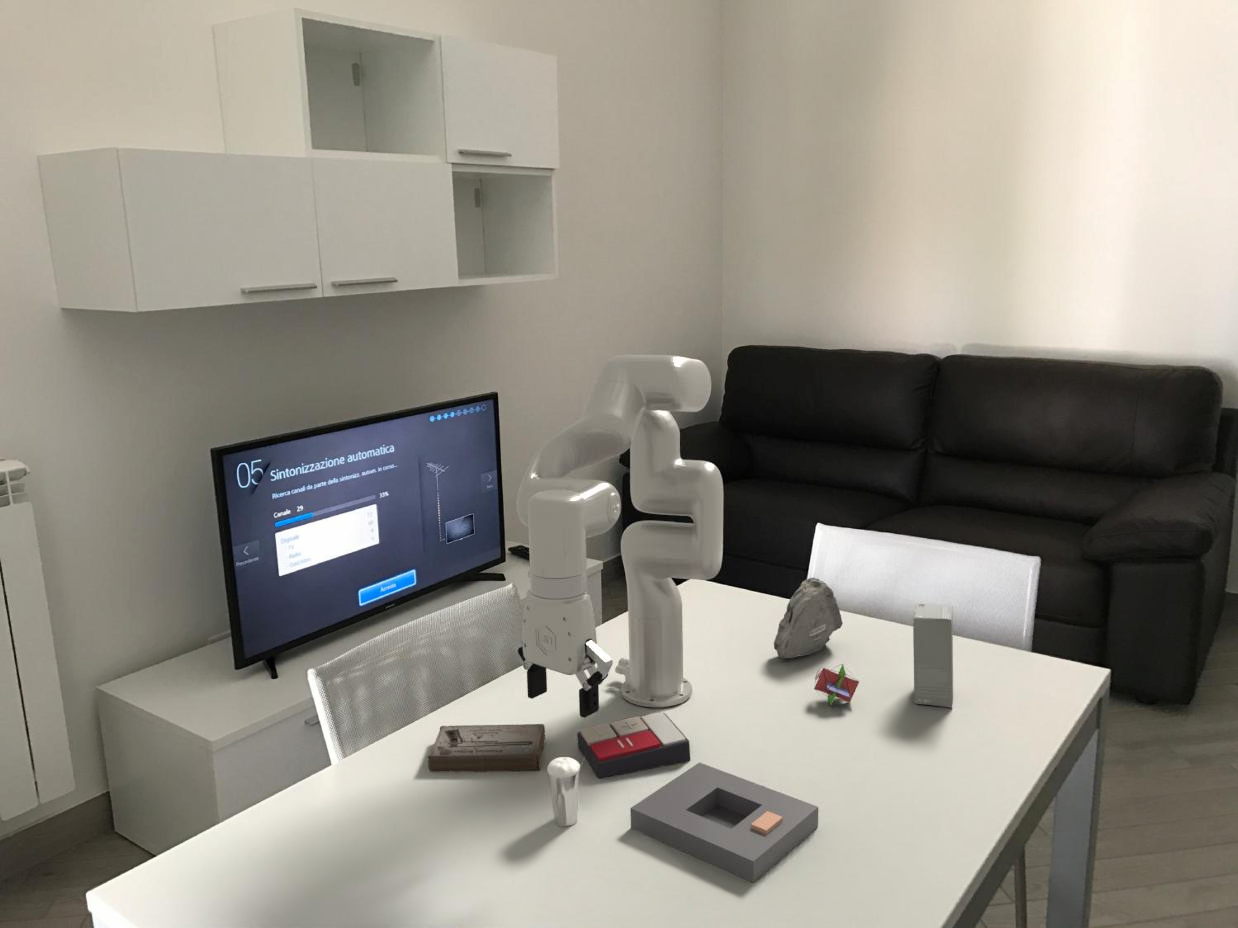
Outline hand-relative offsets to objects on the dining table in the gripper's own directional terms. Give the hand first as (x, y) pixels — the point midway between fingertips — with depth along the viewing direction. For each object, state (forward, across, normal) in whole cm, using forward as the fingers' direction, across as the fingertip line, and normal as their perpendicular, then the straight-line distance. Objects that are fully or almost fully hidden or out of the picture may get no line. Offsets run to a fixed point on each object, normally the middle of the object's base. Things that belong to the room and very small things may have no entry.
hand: (562, 704), depth 139 cm
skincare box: (+17, +23, +69) cm, 74 cm away
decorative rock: (+17, -4, +73) cm, 75 cm away
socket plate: (+18, +18, +13) cm, 28 cm away
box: (+18, -23, +7) cm, 30 cm away
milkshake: (+18, 0, +1) cm, 18 cm away
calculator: (+18, -5, +21) cm, 28 cm away
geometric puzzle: (+17, +11, +57) cm, 60 cm away
